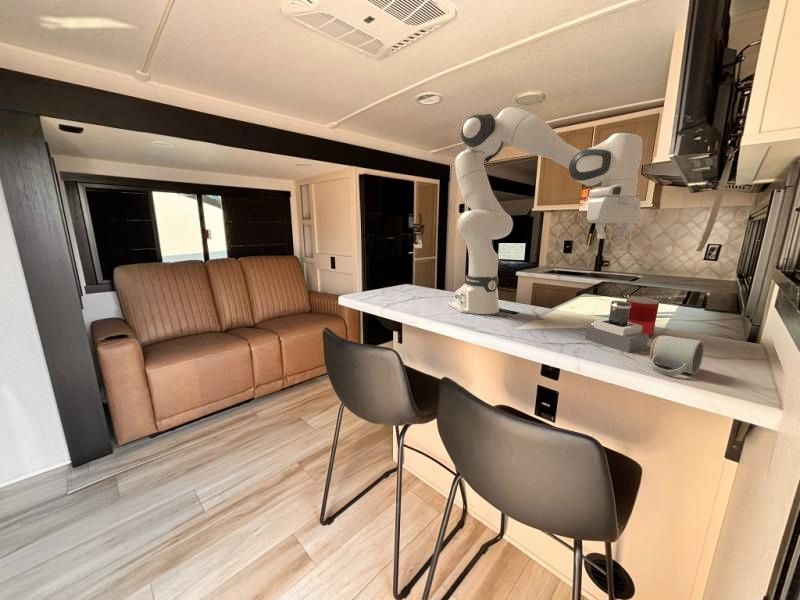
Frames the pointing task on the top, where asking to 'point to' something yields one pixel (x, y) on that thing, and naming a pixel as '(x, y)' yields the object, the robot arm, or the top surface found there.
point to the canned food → (643, 313)
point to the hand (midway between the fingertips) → (611, 238)
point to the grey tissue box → (617, 335)
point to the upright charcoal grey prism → (619, 313)
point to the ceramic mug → (676, 355)
